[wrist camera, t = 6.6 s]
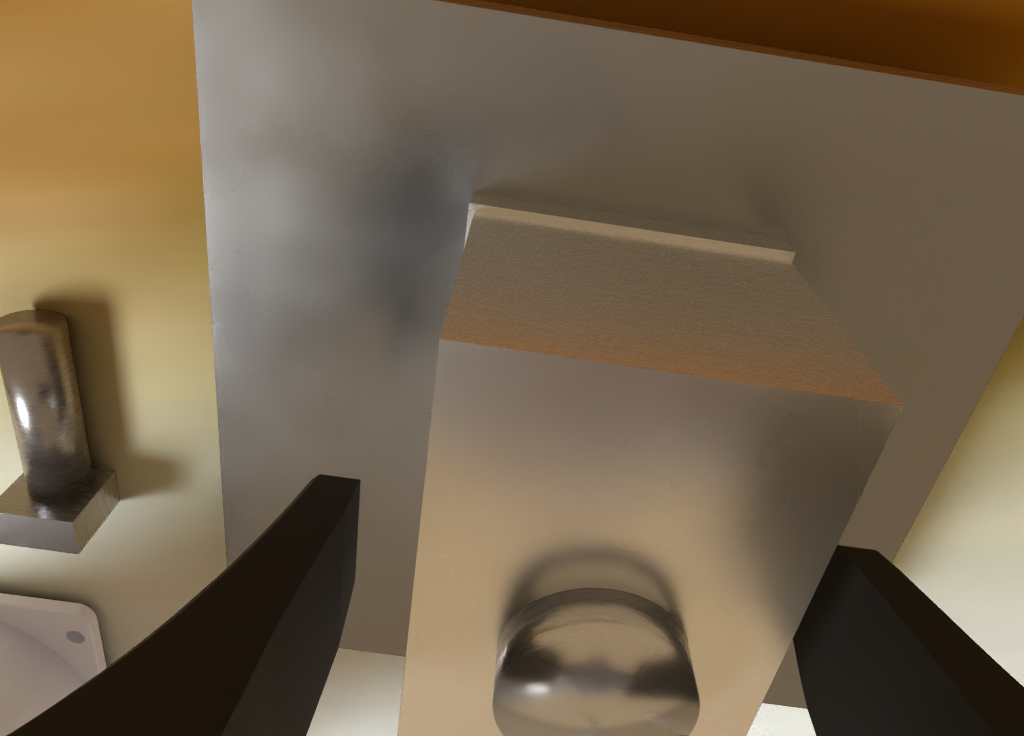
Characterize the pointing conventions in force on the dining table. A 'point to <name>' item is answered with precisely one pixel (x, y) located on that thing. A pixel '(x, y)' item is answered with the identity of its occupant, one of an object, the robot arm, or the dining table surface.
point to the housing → (627, 476)
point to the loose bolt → (49, 440)
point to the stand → (574, 183)
